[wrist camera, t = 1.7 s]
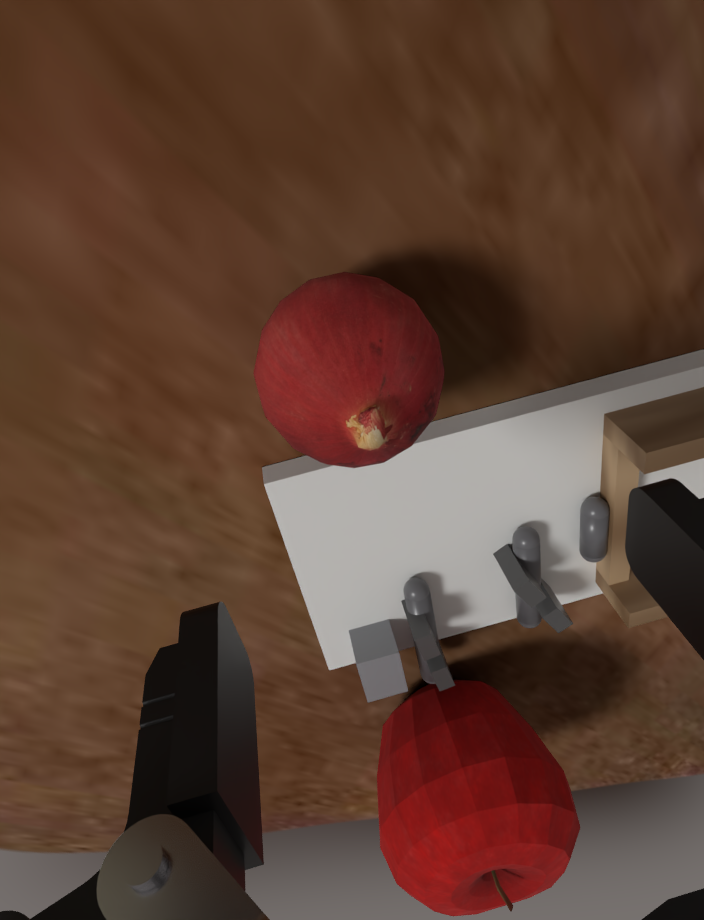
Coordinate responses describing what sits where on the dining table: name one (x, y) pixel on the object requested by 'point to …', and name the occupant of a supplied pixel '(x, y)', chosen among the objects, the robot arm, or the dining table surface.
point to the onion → (349, 370)
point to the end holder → (623, 454)
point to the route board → (463, 524)
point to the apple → (471, 801)
